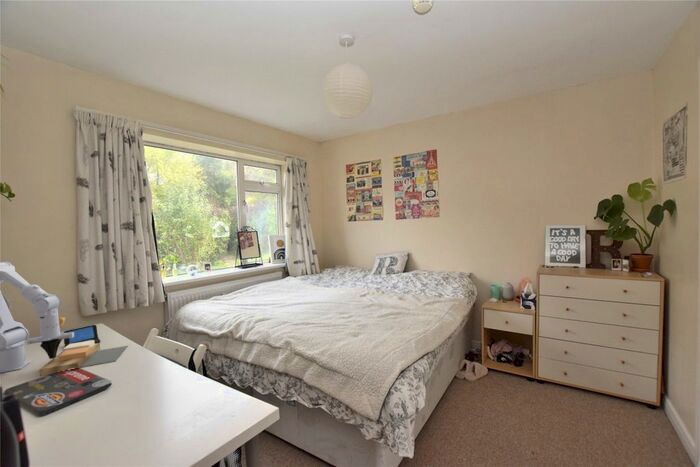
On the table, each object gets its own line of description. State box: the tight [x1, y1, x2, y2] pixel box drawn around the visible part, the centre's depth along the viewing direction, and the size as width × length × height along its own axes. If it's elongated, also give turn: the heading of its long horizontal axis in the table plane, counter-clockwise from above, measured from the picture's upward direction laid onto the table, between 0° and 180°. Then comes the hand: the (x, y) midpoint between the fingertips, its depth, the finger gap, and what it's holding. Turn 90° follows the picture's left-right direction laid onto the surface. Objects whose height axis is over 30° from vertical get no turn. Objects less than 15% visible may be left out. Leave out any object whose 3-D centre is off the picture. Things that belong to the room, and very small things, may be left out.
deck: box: [38, 342, 101, 377], centre depth 131 cm, size 12×22×2 cm, turn 22°
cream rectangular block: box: [62, 340, 95, 352], centre depth 137 cm, size 9×6×2 cm, turn 112°
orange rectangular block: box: [58, 347, 92, 361], centre depth 129 cm, size 9×6×2 cm, turn 112°
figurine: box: [59, 316, 67, 329], centre depth 155 cm, size 8×6×12 cm
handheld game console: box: [63, 324, 101, 348], centre depth 149 cm, size 12×11×7 cm
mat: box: [79, 345, 129, 369], centre depth 134 cm, size 12×17×1 cm
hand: (52, 357), depth 127 cm, fingers closed
